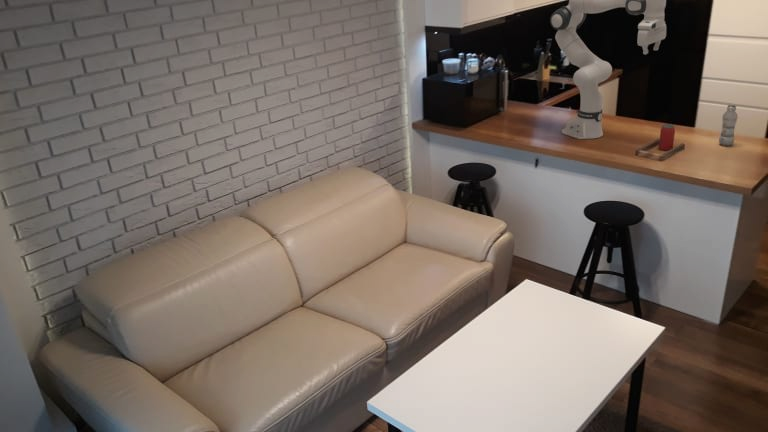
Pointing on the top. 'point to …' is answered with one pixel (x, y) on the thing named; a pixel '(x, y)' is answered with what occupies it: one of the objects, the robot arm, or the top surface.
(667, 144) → the beer can
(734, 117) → the plastic bottle
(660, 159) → the walnut channel
